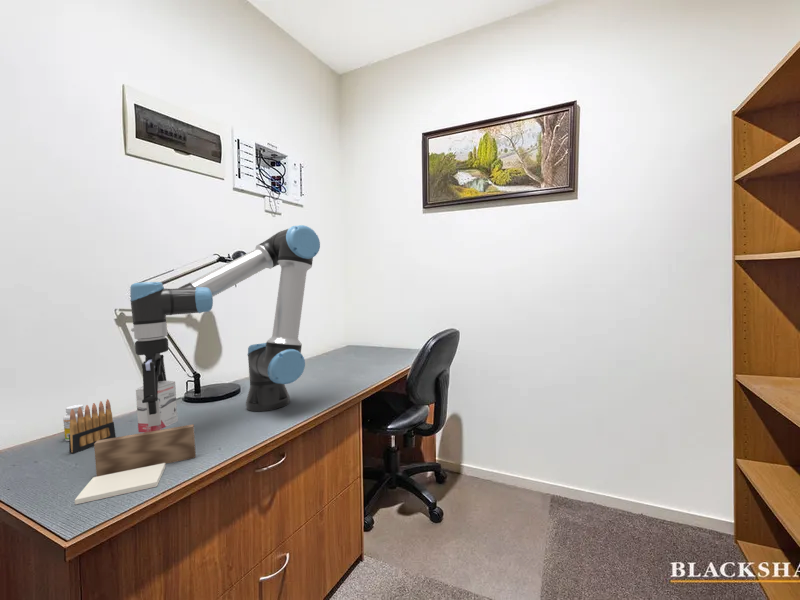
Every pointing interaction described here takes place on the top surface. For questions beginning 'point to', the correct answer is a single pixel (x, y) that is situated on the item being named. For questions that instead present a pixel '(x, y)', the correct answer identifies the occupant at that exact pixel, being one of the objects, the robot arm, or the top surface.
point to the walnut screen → (144, 449)
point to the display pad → (121, 483)
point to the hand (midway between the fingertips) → (158, 419)
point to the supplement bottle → (67, 418)
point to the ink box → (166, 407)
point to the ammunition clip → (90, 427)
